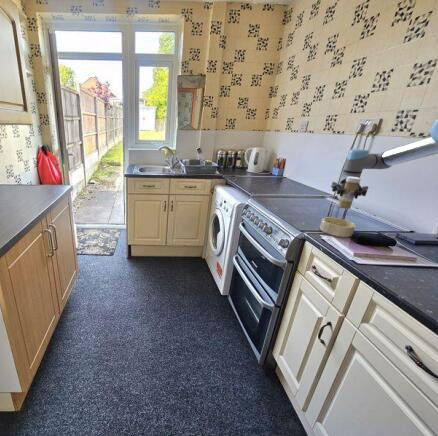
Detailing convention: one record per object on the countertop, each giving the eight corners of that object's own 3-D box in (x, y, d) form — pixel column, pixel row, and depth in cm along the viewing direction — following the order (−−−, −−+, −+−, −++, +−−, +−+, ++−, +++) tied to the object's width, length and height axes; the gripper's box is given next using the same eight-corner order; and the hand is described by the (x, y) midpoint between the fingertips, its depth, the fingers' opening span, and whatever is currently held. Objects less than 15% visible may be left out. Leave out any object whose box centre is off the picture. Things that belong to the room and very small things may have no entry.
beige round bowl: (348, 230, 115) (352, 220, 113) (354, 240, 105) (358, 229, 103) (317, 225, 120) (320, 215, 118) (321, 234, 110) (324, 224, 108)
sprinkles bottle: (343, 209, 105) (353, 178, 100) (334, 205, 110) (344, 176, 105) (353, 209, 106) (364, 178, 101) (344, 205, 110) (354, 176, 105)
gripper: (369, 195, 115) (373, 207, 98) (325, 188, 125) (321, 199, 107) (375, 179, 112) (380, 189, 95) (329, 174, 122) (326, 182, 105)
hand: (349, 194), depth 101 cm, fingers closed on sprinkles bottle, 4 cm apart
